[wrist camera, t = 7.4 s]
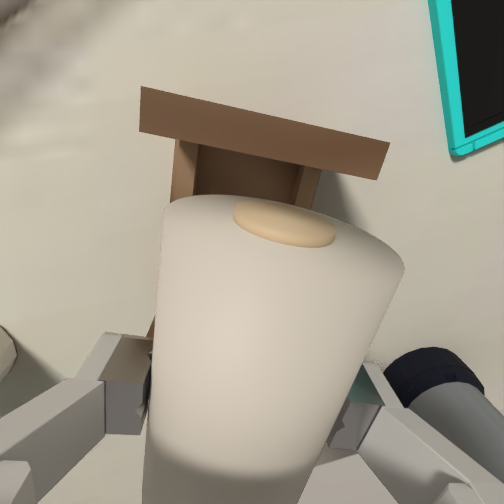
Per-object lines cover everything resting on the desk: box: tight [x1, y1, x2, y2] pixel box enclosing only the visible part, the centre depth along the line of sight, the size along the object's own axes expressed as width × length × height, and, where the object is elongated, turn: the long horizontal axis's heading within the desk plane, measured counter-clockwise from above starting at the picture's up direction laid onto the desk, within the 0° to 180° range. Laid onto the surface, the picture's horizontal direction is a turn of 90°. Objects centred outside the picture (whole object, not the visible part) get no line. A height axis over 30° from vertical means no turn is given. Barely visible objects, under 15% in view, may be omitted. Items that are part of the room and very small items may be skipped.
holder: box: [139, 86, 390, 338], centre depth 16 cm, size 14×9×8 cm, turn 169°
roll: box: [142, 195, 405, 504], centre depth 8 cm, size 10×5×5 cm, turn 169°
